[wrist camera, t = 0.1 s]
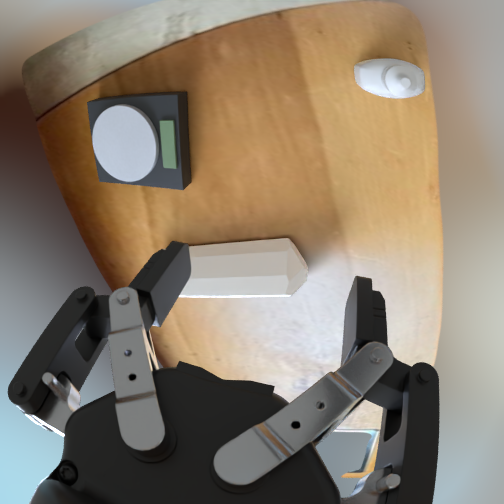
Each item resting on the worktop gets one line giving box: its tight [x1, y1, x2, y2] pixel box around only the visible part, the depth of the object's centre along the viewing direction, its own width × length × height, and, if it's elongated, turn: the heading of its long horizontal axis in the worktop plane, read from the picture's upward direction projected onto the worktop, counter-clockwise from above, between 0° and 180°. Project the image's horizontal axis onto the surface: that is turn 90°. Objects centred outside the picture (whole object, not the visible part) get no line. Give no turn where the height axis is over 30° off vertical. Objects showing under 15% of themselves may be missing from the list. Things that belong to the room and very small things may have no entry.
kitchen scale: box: [87, 92, 191, 190], centre depth 35 cm, size 12×14×3 cm
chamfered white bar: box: [164, 238, 308, 297], centre depth 42 cm, size 7×7×24 cm
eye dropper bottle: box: [354, 58, 425, 99], centre depth 20 cm, size 4×6×12 cm
